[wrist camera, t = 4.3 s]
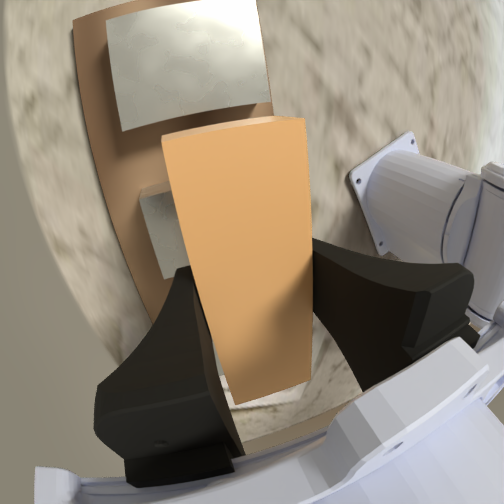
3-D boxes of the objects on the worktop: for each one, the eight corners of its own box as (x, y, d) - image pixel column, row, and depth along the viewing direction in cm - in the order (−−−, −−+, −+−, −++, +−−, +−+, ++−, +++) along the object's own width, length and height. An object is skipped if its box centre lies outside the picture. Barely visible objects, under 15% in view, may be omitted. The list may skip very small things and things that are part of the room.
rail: (242, 10, 13) (254, -3, 11) (283, 333, 26) (294, 351, 24) (112, 32, 11) (105, 20, 9) (199, 359, 24) (204, 380, 22)
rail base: (250, -9, 13) (253, -14, 12) (291, 338, 28) (294, 344, 27) (75, 23, 11) (72, 20, 10) (179, 372, 25) (180, 378, 25)
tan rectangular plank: (249, 114, 12) (304, 118, 7) (273, 315, 18) (310, 379, 14) (162, 130, 11) (161, 142, 7) (212, 333, 17) (235, 405, 13)
